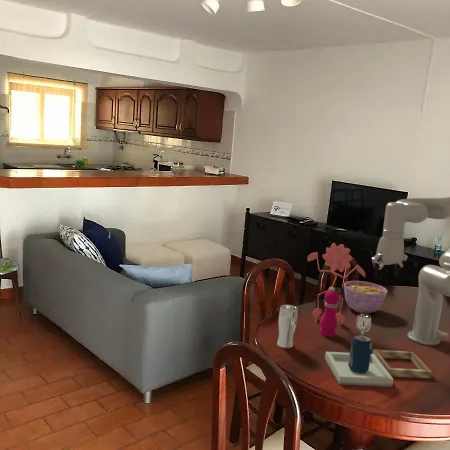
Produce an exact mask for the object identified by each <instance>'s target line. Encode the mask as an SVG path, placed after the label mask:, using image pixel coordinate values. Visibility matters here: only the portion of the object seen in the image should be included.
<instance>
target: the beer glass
mask: <svg viewBox="0 0 450 450" xmlns="http://www.w3.org/2000/svg"><path fill="white" fill-rule="evenodd" d="M298 312H299V311H298V307H297V306H295V305H292V304H283V305H280V307H279V313H278V332H279V333H278V339H277V342H276V344H277V346H278V347H280V348H283V349H291V348H293V347H294V333H295V330H296V327H297V323H298Z"/></svg>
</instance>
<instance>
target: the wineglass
mask: <svg viewBox="0 0 450 450" xmlns="http://www.w3.org/2000/svg"><path fill="white" fill-rule="evenodd" d="M371 327H372V317H371V315H369V314H363V313H359V314H358V315H357V318H356V321H355V328H356V329H357V331H359V332H360V334H363V335H364V333H366V332H369V331H370V329H371Z"/></svg>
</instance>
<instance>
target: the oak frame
mask: <svg viewBox="0 0 450 450" xmlns="http://www.w3.org/2000/svg"><path fill="white" fill-rule="evenodd" d="M371 354H374V355H375V356H376V357H377V359H378V360H379V361H380V362H381V364H382V365H383V366H384V368H385V369H386V370H387V371H388V373H389V374H390V375H391V377H401V378H413V379H414V378H418V379H431V378H432V372H433V371H432V370H431V369H430V368H429V367H428V366H427V365H426V364H425V363H424V362H423V361H422V360H421V359H420V358H419V357H418V356H417V355H416V354H415V352H413V351H409V350H404V351H403V350H391V349H390V350H387V349H386V350H385V349H384V350H383V349H372V351H371ZM385 359H399V360H400V359H401V360H402V359H403V360H410V361H411V362H412V363H413V365H414V366H415V367H416V368H417V369H416V368H399V367H398V368H396V367H391V366H390V365H389V364H388V363H387V362H386V360H385Z"/></svg>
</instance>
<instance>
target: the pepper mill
mask: <svg viewBox="0 0 450 450" xmlns="http://www.w3.org/2000/svg"><path fill="white" fill-rule="evenodd" d="M331 287H332V286H331ZM326 291H327V290H326ZM323 297H324V300H325V302H324V306H325V310H324V314H323V315H322V316H321V318H320V320H319V326H320V328H319V334H320V335H322V336H324V337H328V338H331V337H335V335H336V329H337V328H338V325H337V324H339V322H338V323H337V318H336V309H337V308H338V303H339V301H340V299H341V298H340V297H341V295H340V293H338V292H337V291H336V288H335V287H334V286H333V287H332V288H331V291H327V292H325V294H324V296H323Z"/></svg>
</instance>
